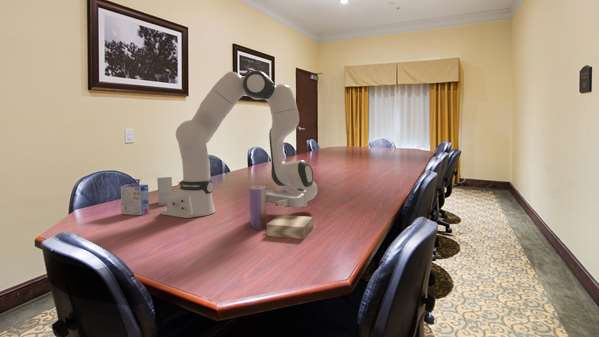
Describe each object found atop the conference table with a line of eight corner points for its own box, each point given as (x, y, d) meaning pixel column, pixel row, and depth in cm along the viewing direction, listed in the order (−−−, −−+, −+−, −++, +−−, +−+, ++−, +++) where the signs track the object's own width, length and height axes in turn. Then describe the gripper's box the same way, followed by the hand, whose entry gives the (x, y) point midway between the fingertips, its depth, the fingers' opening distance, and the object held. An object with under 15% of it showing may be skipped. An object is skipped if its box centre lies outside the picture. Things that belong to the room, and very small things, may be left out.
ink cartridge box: (150, 212, 155) (148, 179, 153) (142, 215, 150) (140, 181, 148) (130, 211, 157) (127, 178, 155) (121, 214, 152) (119, 180, 150)
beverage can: (253, 230, 129) (252, 189, 127) (248, 226, 134) (247, 186, 132) (269, 228, 131) (268, 187, 129) (263, 224, 137) (262, 184, 135)
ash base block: (266, 235, 123) (266, 224, 122) (279, 225, 135) (279, 214, 135) (303, 239, 119) (303, 227, 119) (313, 227, 132) (313, 217, 131)
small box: (173, 204, 170) (171, 177, 168) (158, 205, 168) (156, 177, 166) (172, 200, 177) (171, 174, 176) (158, 201, 175) (157, 175, 174)
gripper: (270, 185, 152) (246, 190, 141) (310, 191, 141) (288, 197, 129) (270, 200, 153) (247, 206, 142) (310, 206, 141) (288, 214, 130)
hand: (267, 202), depth 136 cm, fingers open, 8 cm apart
